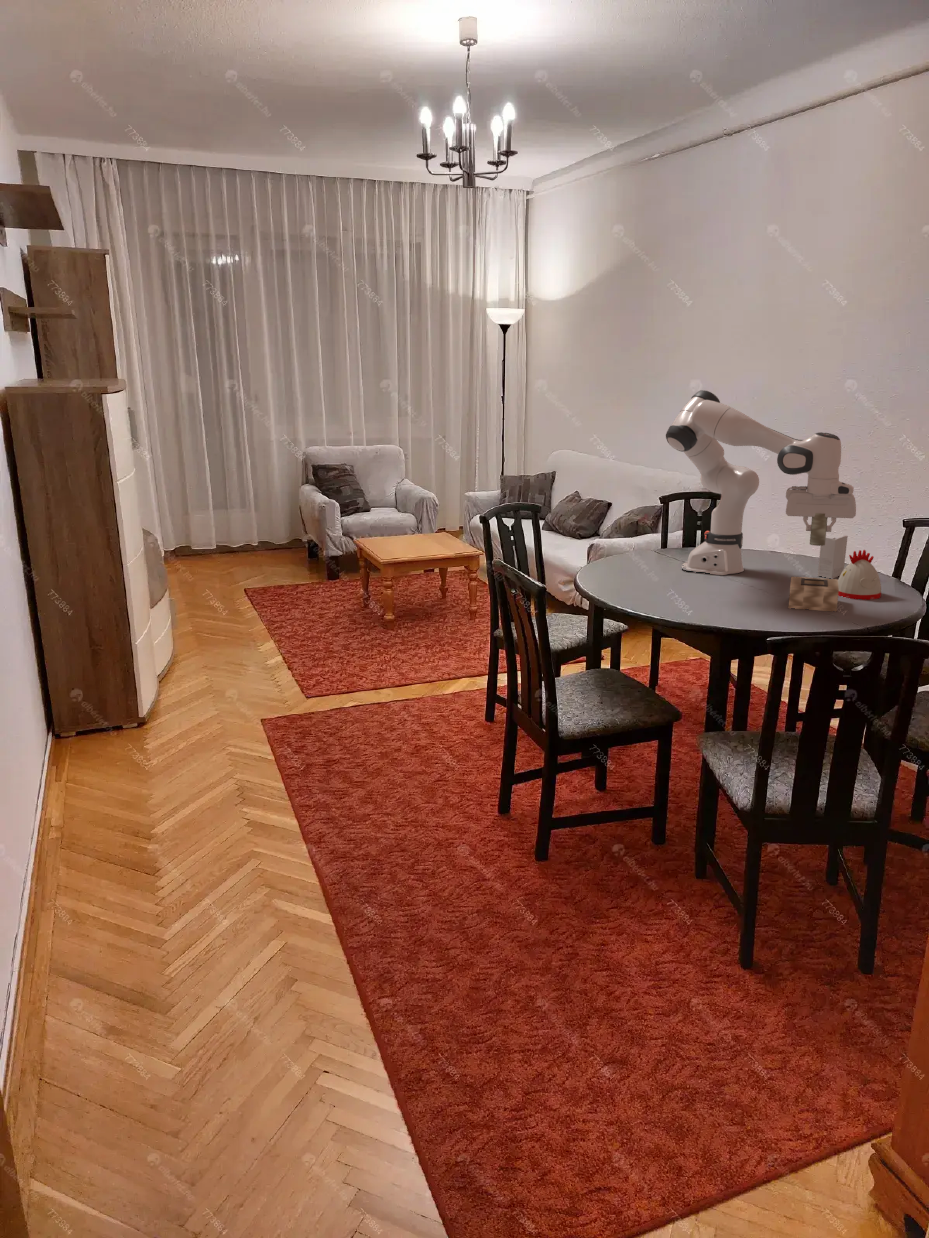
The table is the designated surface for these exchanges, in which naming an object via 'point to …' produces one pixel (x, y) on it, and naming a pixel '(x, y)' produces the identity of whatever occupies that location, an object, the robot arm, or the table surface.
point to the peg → (818, 530)
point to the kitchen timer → (860, 578)
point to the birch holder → (813, 593)
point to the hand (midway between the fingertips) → (818, 531)
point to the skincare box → (832, 556)
